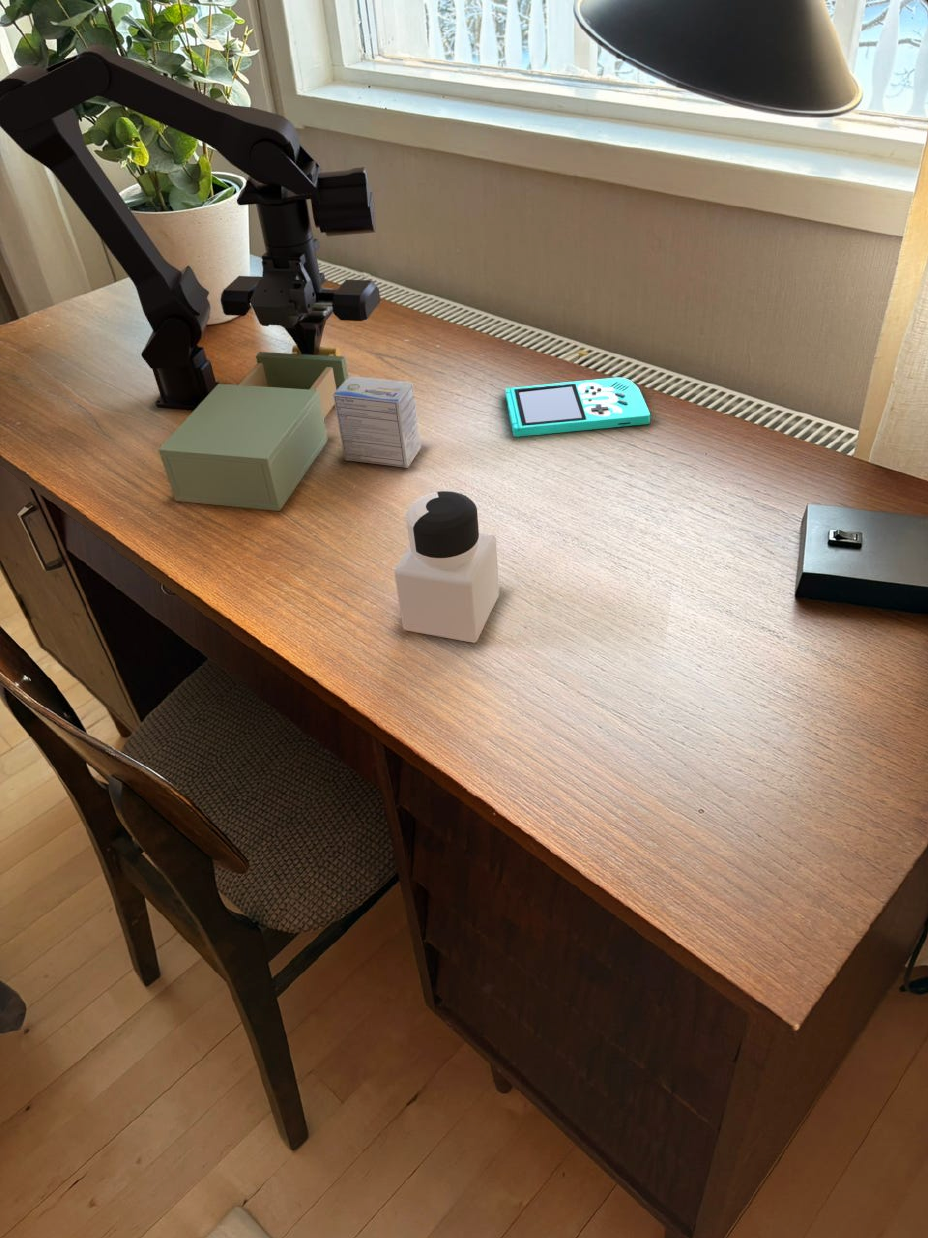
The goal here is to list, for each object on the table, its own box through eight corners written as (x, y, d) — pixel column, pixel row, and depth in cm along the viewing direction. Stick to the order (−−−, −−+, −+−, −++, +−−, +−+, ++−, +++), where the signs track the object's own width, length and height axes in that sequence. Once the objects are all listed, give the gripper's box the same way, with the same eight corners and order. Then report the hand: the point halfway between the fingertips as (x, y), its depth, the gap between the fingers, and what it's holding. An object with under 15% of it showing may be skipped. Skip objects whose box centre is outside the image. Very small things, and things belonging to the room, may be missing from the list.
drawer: (281, 369, 124) (274, 334, 121) (363, 374, 122) (357, 339, 118) (221, 441, 111) (211, 405, 108) (311, 448, 109) (303, 411, 106)
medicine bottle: (500, 594, 88) (494, 487, 80) (476, 645, 83) (467, 536, 75) (429, 582, 90) (416, 477, 82) (402, 631, 85) (385, 524, 78)
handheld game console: (650, 425, 109) (651, 414, 108) (513, 438, 109) (512, 428, 108) (633, 383, 116) (633, 373, 116) (504, 396, 116) (504, 386, 116)
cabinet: (231, 432, 115) (218, 383, 110) (328, 440, 112) (318, 389, 107) (175, 500, 104) (158, 449, 100) (279, 511, 101) (266, 458, 97)
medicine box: (422, 449, 109) (414, 380, 103) (407, 470, 105) (398, 400, 100) (360, 441, 111) (348, 373, 105) (344, 461, 108) (331, 393, 102)
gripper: (184, 263, 106) (218, 389, 116) (339, 268, 101) (360, 398, 112) (227, 227, 114) (255, 348, 124) (372, 230, 109) (389, 355, 120)
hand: (312, 362), depth 120 cm, fingers closed
